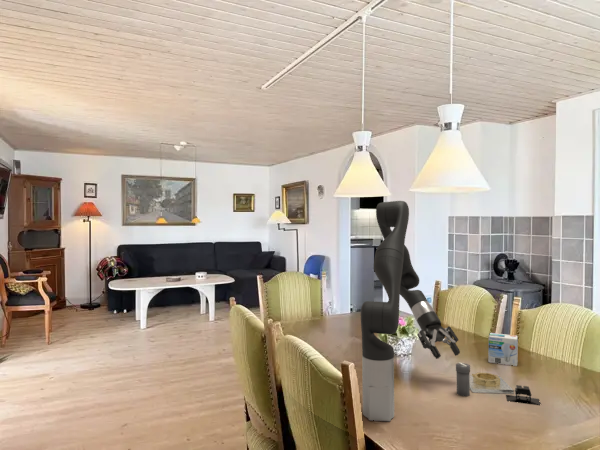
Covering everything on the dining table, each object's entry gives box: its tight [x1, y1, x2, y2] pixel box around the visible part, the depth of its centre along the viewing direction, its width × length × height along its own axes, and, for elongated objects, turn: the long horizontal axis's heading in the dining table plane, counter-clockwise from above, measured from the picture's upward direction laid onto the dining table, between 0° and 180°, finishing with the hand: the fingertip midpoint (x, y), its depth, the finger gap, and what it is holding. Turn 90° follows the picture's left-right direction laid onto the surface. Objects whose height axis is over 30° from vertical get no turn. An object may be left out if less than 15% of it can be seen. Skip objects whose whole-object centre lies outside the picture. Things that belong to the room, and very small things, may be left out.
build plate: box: [505, 384, 542, 406], centre depth 136 cm, size 12×7×5 cm, turn 68°
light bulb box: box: [487, 332, 519, 367], centre depth 174 cm, size 11×7×11 cm, turn 62°
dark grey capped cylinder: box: [455, 362, 471, 397], centre depth 142 cm, size 4×4×10 cm
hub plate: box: [469, 371, 515, 395], centre depth 148 cm, size 13×13×4 cm
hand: (448, 356), depth 147 cm, fingers open, 8 cm apart
